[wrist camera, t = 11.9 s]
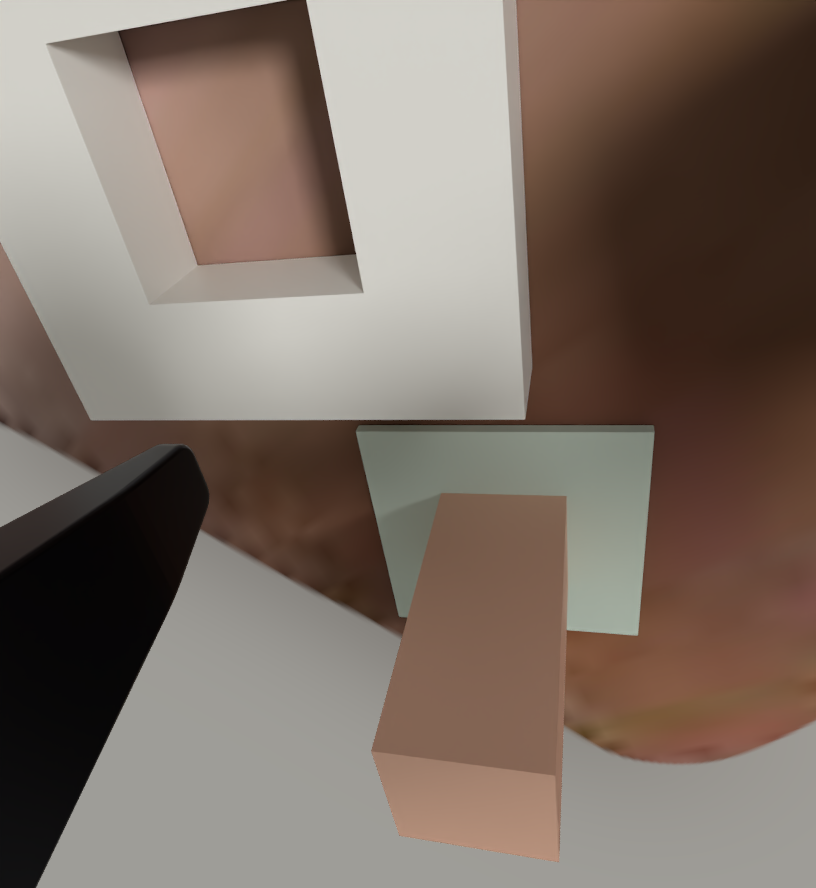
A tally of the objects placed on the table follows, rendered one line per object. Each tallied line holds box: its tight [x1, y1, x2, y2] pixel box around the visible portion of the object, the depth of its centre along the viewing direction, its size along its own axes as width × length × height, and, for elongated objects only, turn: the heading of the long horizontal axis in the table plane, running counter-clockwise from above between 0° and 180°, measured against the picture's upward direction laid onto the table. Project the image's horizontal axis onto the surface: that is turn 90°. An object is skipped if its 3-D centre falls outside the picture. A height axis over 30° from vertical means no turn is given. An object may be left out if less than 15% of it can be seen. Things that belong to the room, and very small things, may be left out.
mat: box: [356, 425, 655, 636], centre depth 25 cm, size 10×10×1 cm
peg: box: [371, 493, 568, 862], centre depth 21 cm, size 4×4×10 cm
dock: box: [0, 0, 532, 420], centre depth 17 cm, size 14×14×3 cm
